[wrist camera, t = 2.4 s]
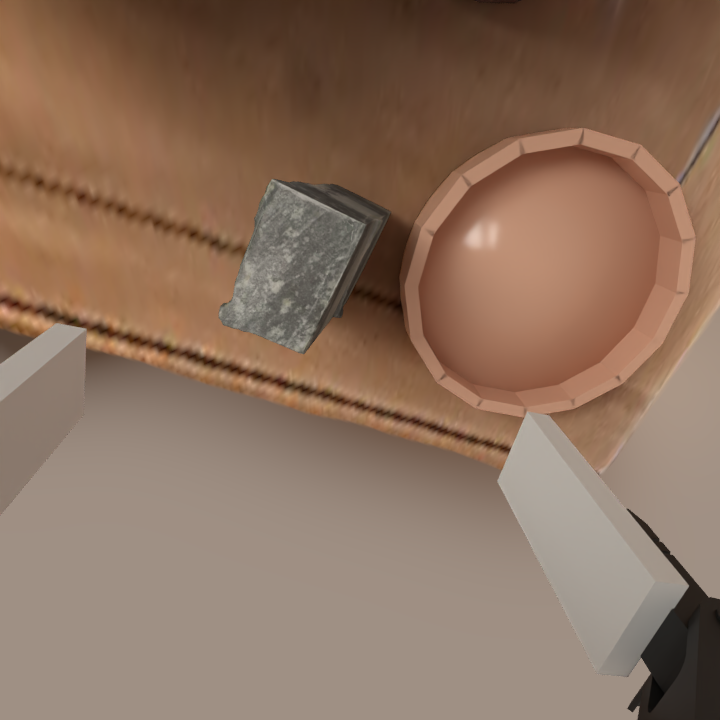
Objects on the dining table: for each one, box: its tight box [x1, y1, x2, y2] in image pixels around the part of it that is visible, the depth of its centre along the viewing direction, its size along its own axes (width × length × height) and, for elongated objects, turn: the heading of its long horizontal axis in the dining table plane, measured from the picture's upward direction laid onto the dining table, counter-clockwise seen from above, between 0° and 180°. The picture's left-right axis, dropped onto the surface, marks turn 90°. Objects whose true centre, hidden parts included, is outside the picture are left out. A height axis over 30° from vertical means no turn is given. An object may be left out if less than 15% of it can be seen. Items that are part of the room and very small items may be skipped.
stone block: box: [219, 179, 391, 354], centre depth 32 cm, size 9×14×5 cm
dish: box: [399, 128, 696, 418], centre depth 40 cm, size 22×22×4 cm
